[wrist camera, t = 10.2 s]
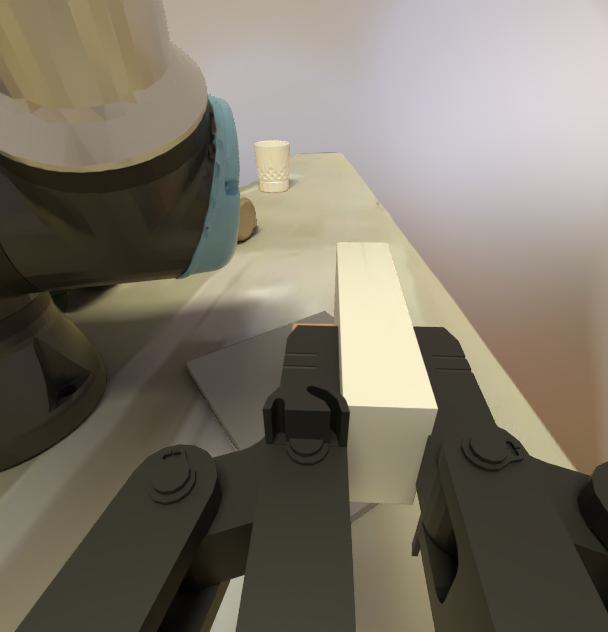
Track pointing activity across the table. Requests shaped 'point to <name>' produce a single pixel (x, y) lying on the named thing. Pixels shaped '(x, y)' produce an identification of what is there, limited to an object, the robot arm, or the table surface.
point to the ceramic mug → (246, 218)
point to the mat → (250, 385)
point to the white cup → (273, 165)
